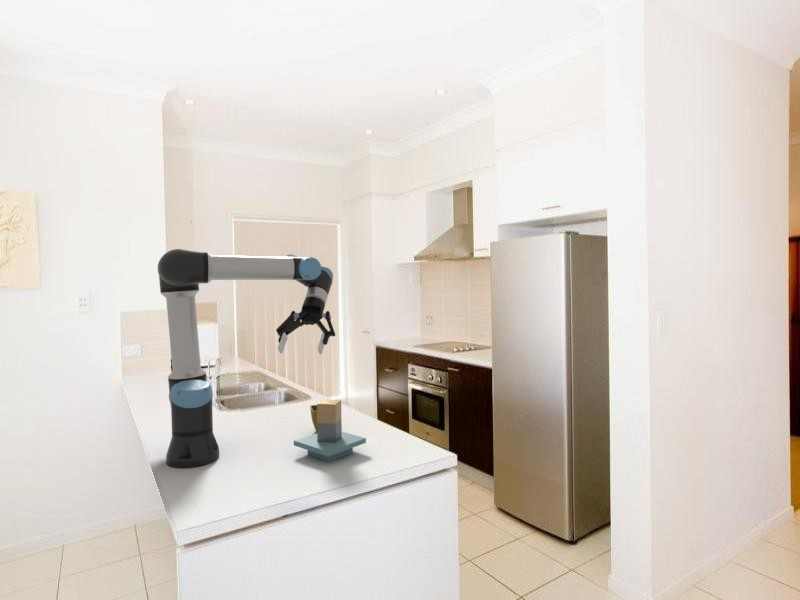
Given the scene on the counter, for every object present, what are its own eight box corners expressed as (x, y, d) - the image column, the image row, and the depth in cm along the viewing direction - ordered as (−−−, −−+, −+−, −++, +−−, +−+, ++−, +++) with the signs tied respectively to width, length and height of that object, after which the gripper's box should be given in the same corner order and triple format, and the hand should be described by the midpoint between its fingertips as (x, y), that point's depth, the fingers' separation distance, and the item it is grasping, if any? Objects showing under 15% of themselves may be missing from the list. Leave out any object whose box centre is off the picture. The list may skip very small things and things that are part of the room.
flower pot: (312, 436, 177) (312, 411, 177) (310, 429, 185) (309, 405, 185) (337, 434, 179) (337, 409, 179) (334, 427, 188) (333, 403, 187)
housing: (317, 441, 157) (316, 403, 156) (323, 436, 163) (323, 399, 162) (335, 442, 156) (335, 404, 155) (341, 436, 162) (341, 399, 161)
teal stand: (293, 454, 158) (293, 440, 158) (331, 441, 171) (331, 428, 171) (328, 466, 148) (328, 451, 148) (366, 452, 160) (365, 438, 160)
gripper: (351, 310, 179) (339, 358, 165) (284, 309, 183) (267, 357, 169) (346, 295, 173) (334, 344, 159) (278, 295, 178) (260, 343, 164)
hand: (299, 351), depth 164 cm, fingers open, 13 cm apart
